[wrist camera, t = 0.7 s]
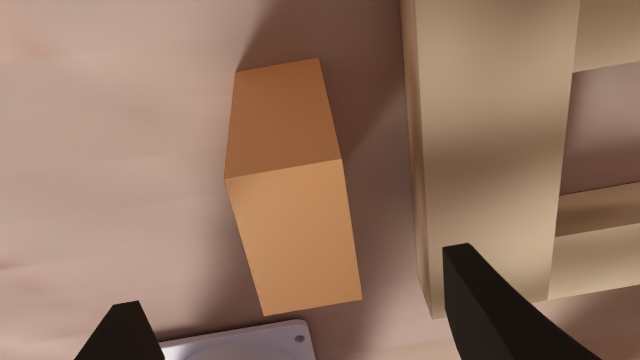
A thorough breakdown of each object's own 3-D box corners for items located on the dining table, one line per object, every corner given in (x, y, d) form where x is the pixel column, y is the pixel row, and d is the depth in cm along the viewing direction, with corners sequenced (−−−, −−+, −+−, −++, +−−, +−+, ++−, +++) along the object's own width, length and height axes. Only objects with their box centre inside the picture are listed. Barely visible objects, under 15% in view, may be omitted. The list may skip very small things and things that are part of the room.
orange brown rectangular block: (336, 174, 23) (362, 299, 17) (263, 186, 23) (263, 316, 17) (318, 57, 20) (341, 158, 14) (235, 72, 20) (223, 179, 14)
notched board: (652, 239, 26) (686, 276, 24) (418, 279, 26) (431, 319, 24) (730, -88, 18) (790, -75, 16) (397, -30, 18) (414, -10, 16)
